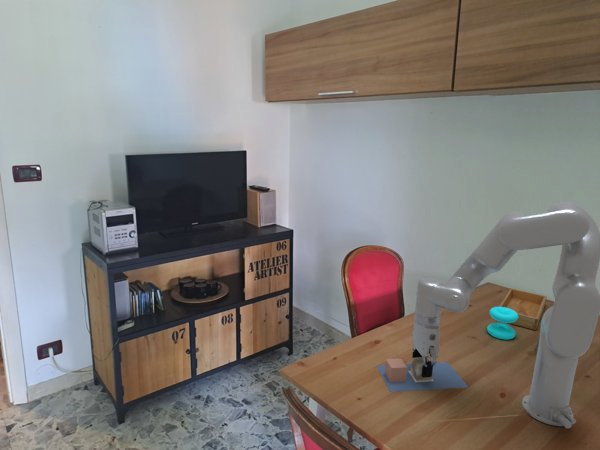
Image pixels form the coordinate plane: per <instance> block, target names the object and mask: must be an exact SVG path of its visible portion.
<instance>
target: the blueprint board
mask: <svg viewBox="0 0 600 450" xmlns="http://www.w3.org/2000/svg"><path fill="white" fill-rule="evenodd" d="M405 365H406V366H407V373H406V382H392V383H390V381H389V380H388V378H387V376H386V374H385V367H386V364H383V365H380V364H379V365H376V368H377V370H378V372H379V374H380V376H381V377H382V379H383V381H384V383H385V384H386V386H387V388H388V390H389V392H391V393H396V392H399V393H400V392H413V391H431V390H449V389H465V388H469V386H468V384H467V383H466V382H465V380H463V379H462V377H461V376H460V375H459V374H458V373H457V372H456V370H455V369H454V368H453V366H451V364H450V363H449V362H448V361H447V362H446V361H443V362H441V361H440V362H437V363H435V365H434V366H433V374H432V380H423V381H416V379H415V378H414V376H413V375H412V373H411V372H410V371H411V363H405Z"/></svg>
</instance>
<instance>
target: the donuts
mask: <svg viewBox="0 0 600 450" xmlns="http://www.w3.org/2000/svg"><path fill="white" fill-rule="evenodd" d="M489 315H490V317H491V318H492V319H493V320H495V321H497V322H492V323H489V325H488V326H487V329H486V330H487V333H488V334H490V336H492V337H494V338H496V339H500V340H504V341H505V340H506V341H507V340H512V339H514V338H515V337H516V334H517V333H516V331H515V328H513V327H512V326H511V325H509V324H510V323H513V322H515V321H517V320H518V314H517V313H516V312H515V311H513V310H512V309H509V308H505V307H499V306H494V307H492V308H490V310H489Z"/></svg>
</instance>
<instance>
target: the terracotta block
mask: <svg viewBox="0 0 600 450" xmlns="http://www.w3.org/2000/svg"><path fill="white" fill-rule="evenodd" d="M405 364H406V363H405V362H404V360H403V359H402V358H387V359H385V365H386V367H385V374H386V376H387V378H388V380H389V381H390V383H392V382H406V373H407V366H406V365H405Z"/></svg>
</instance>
